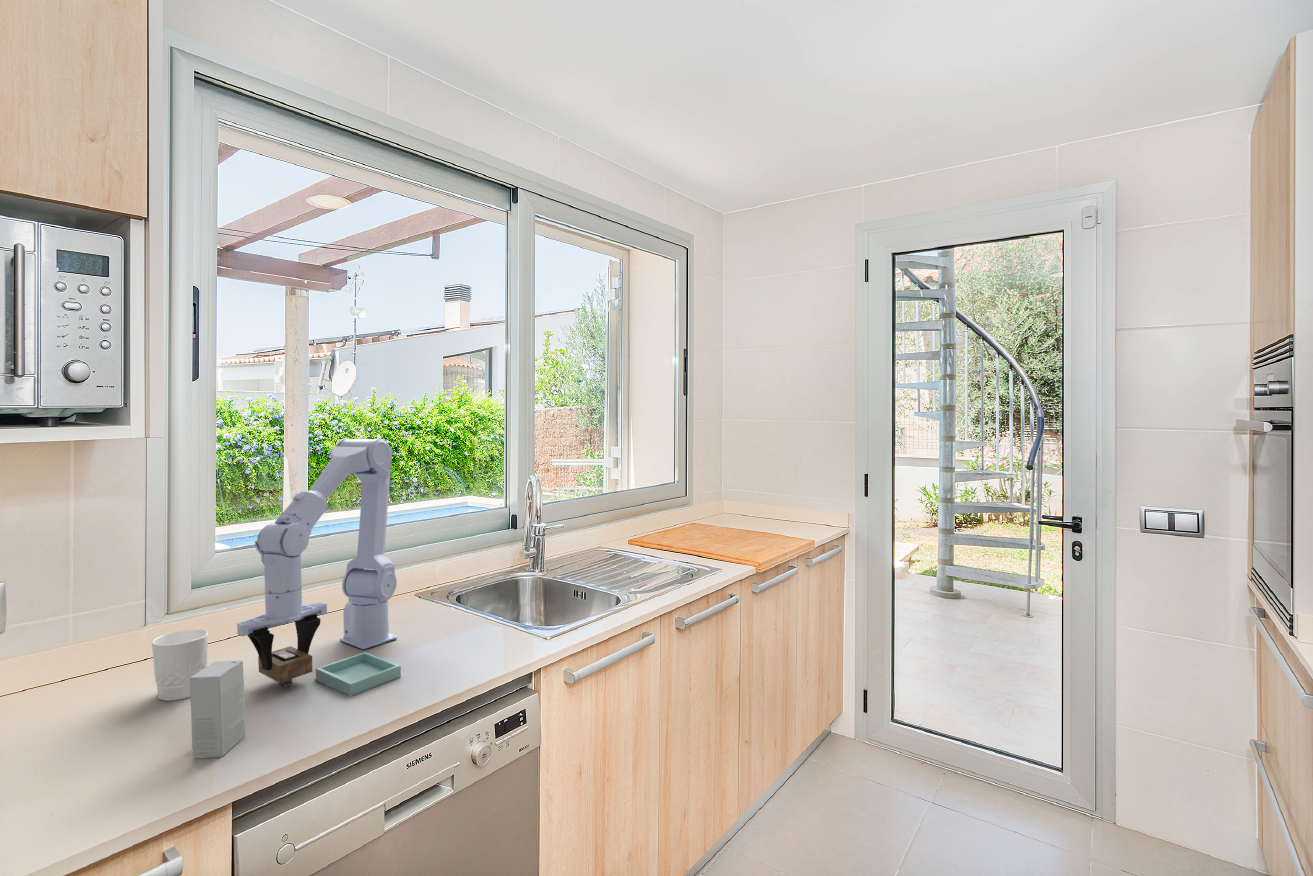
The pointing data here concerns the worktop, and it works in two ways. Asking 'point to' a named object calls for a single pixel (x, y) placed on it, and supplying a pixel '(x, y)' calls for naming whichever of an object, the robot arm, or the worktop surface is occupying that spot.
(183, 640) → the white cup
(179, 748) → the worktop surface
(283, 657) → the t post
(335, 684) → the tray
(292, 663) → the frame ring
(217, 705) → the skincare box
